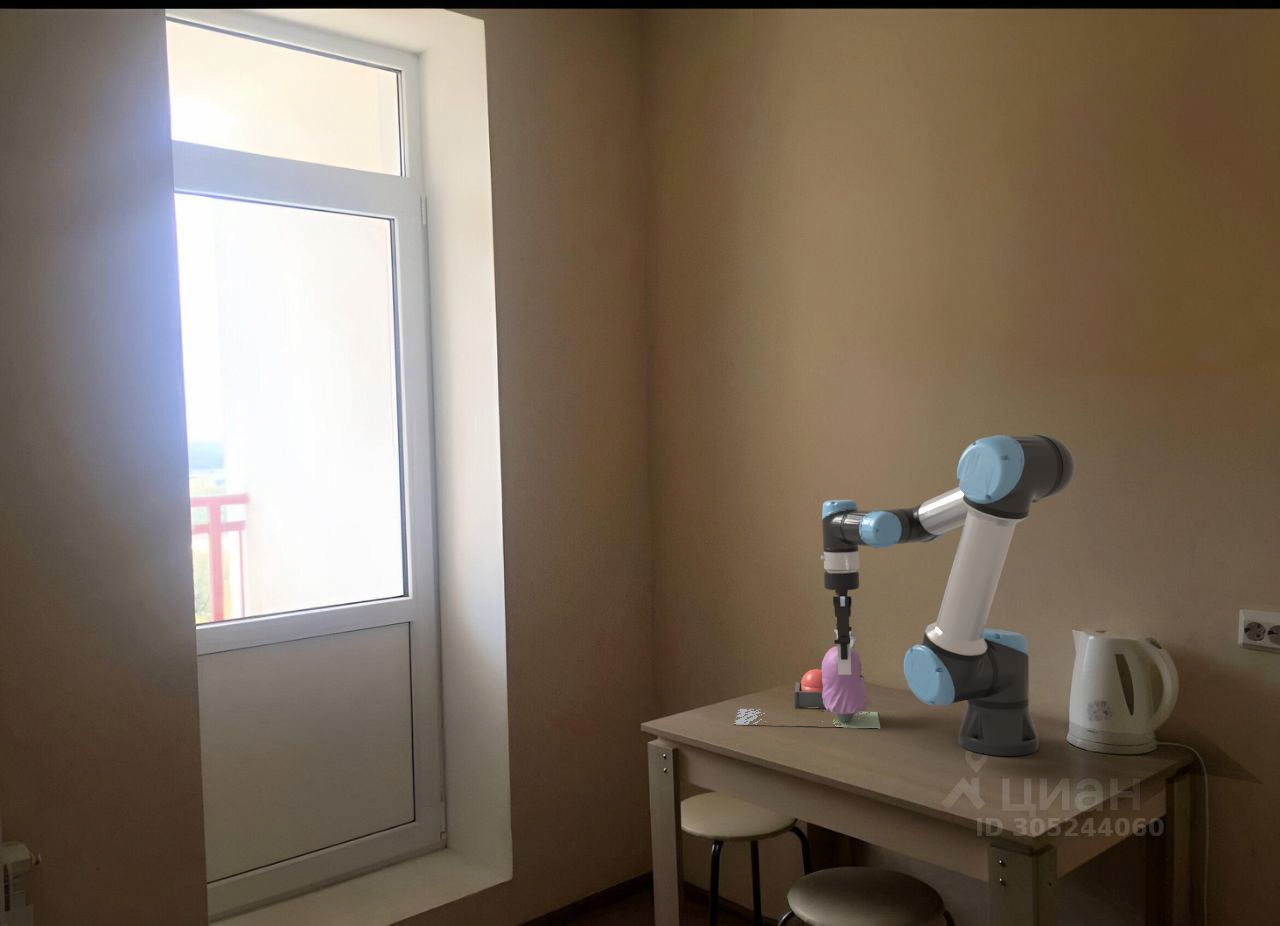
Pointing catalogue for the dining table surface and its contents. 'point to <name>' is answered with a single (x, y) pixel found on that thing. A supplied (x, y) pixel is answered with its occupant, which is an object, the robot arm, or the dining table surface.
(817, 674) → the dome button
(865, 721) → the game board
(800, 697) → the dome housing
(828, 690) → the toy character
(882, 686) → the dining table surface
